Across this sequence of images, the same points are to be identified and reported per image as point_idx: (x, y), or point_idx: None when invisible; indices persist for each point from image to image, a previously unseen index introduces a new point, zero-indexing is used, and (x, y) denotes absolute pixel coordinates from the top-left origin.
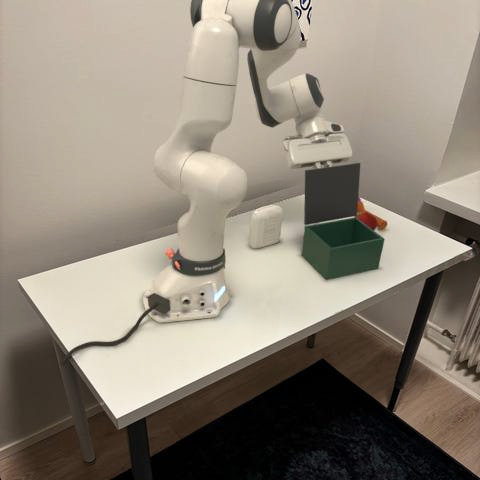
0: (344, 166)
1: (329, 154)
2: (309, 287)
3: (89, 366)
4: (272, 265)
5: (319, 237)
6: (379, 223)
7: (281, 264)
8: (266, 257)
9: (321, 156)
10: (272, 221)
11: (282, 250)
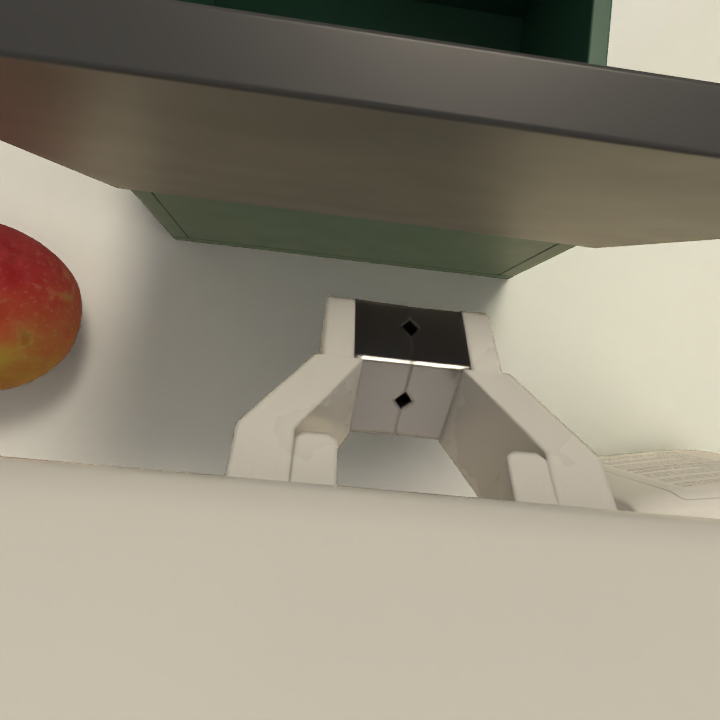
0: (189, 8)
1: (235, 588)
2: (641, 6)
3: None
4: (697, 266)
5: (593, 44)
6: None
7: (651, 252)
8: (684, 351)
9: (514, 582)
10: (696, 477)
11: (569, 378)
